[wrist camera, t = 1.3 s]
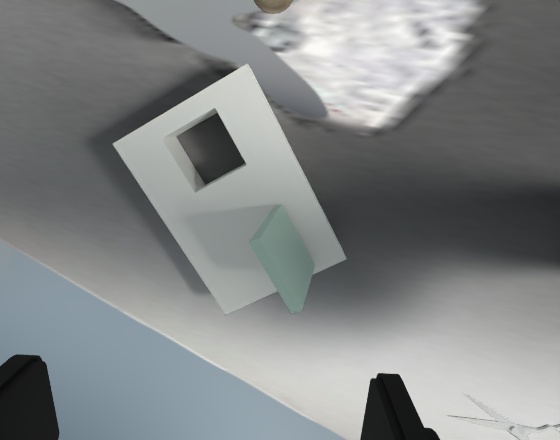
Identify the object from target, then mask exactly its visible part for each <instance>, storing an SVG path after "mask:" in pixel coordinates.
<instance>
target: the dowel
mask: <svg viewBox="0 0 560 440" xmlns="http://www.w3.org/2000/svg"><path fill="white" fill-rule="evenodd" d="M254 1H255V3H256V5H257V6H258V7H259V8H260V9H261V10H263V11H264V12H267V13H271V14H276V13H280V12H282V11H284V10H285V9H287V8H288V7H289V6H290V4H291V3H292V1H293V0H254Z"/></svg>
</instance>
